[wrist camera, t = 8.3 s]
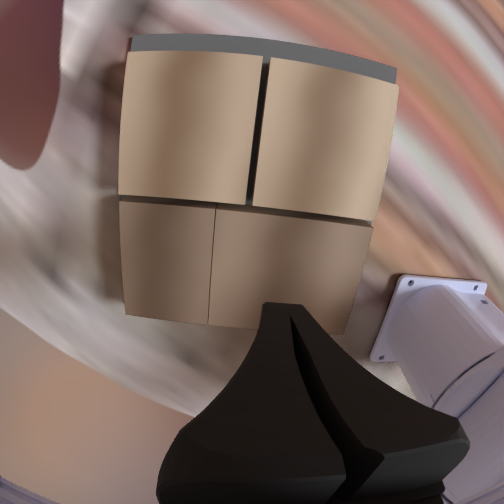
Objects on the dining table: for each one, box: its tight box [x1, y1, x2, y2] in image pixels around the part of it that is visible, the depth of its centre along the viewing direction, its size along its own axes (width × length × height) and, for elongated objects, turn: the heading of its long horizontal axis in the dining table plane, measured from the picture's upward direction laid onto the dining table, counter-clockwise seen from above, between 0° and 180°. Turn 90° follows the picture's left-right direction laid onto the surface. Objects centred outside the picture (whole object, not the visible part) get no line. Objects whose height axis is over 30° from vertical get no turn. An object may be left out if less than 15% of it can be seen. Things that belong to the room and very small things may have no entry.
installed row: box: [119, 195, 374, 334], centre depth 20 cm, size 15×8×2 cm, turn 83°
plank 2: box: [252, 57, 399, 221], centre depth 17 cm, size 7×8×2 cm
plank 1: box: [118, 51, 263, 205], centre depth 16 cm, size 7×8×2 cm
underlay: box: [120, 34, 397, 225], centre depth 19 cm, size 16×18×1 cm
